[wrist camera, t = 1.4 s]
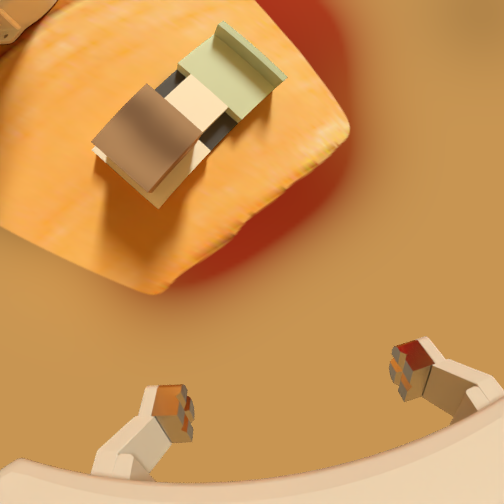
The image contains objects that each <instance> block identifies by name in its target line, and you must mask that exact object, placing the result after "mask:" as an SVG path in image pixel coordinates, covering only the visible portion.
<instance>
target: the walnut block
mask: <svg viewBox="0 0 504 504" xmlns="http://www.w3.org/2000/svg"><path fill="white" fill-rule="evenodd" d="M202 133H203V132H202V131H201V130H200V129H199V128H197V127H196V126H195V125H194V124H193V123H192V122H191V121H190V120H188V119H187V118H186V117H185V116H184V115H183V114H182V113H181V112H179V111H178V110H177V109H176V108H175V107H174V106H173V105H171V104H170V103H169V102H168V101H167V100H166V99H164V98H163V97H162V96H161V95H160V94H159V93H157V92H156V91H155V90H154V89H153V88H152V87H150V86H149V85H148V84H146V85H145V86H144V87H143V88H141V89H140V90H139V91H138V92H137V93H136V94H135V95H134V96H133V97H132V98H131V99H130V100H129V101H128V102H127V103H126V104H125V105H124V106H123V107H122V108H121V109H120V110H119V111H118V113H117V114H116V115H115V116H114V117H113V118H112V119H111V120H110V121H109V122H108V123H107V124H106V126H105V127H104V128H103V129H102V130H101V131H100V132H99V133H98V135H97V136H96V137H95V138H94V139H93V140H92V141H91V142H92V143H93V144H94V145H95V146H96V147H97V148H99V149H100V150H101V151H102V152H103V153H104V154H105V155H106V156H107V157H108V158H110V159H111V160H112V161H113V162H114V163H115V164H116V165H117V166H118V167H120V168H121V169H122V170H123V171H124V172H125V173H126V174H127V175H129V176H130V177H131V178H132V179H133V180H134V181H135V182H136V183H138V184H139V185H140V186H141V187H142V188H143V189H144V190H145V191H147V192H148V193H152V192H153V191H154V190H155V189H156V188H157V187H158V186H159V184H160V183H161V182H162V181H163V180H164V179H165V178H166V176H167V175H168V174H169V173H170V172H171V171H172V170H173V169H174V168H175V166H176V165H177V164H178V163H179V162H180V161H181V160H182V159H183V158H184V157H185V156H186V155H187V153H188V152H189V151H190V150H191V149H192V148H193V147H194V146H195V144H196V143H197V141H198V139H199V138H200V136H201V135H202Z"/></svg>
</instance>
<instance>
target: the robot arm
mask: <svg viewBox="0 0 504 504" xmlns="http://www.w3.org/2000/svg"><path fill="white" fill-rule="evenodd" d="M56 1H57V0H0V44H10V43H12V42H14V41H15V40H16V39H17V38H18V37H19V36H20V34H21V33H22V32H23V31H24V30H25V29H26V28H27V27H28V26H30V25H31V24H33V23H34V22H36V21H37V20H38V19H40V18H41V17H42V16H43V15H44V14H45V13H46V12H47V11H48V10H49V9H50V8H51V7H52V6H53V5H54V4H55V2H56ZM392 355H393V357H394V358H393V359H392V360H391V361H390V366H389V370H390V376H391V379H392V380H393V383H395V384H396V385H398V386H399V389H398V392H399V394H400V395H401V397H402V399H403V401H404V402H406V401H409V400H413V399H415V398H418V397H421V396H422V397H423V398H424V399H426V400H428V401H429V402H431V403H432V404H434V405H436V406H437V407H439V408H440V409H442V410H444V411H445V412H447V413H449V414H450V415H452V416H453V419H452V421H451V423H450V425H449V426H447V427H445V428H443V429H441V430H439V431H437V432H434V433H432V434H429V435H427V436H425V437H422V438H420V439H417V440H415V441H412V442H409V443H407V444H404V445H401V446H399V447H396V448H393V449H390V450H387V451H385V452H382V453H378V454H375V455H372V456H369V457H365V458H362V459H359V460H355V461H351V462H347V463H343V464H340V465H336V466H331V467H327V468H322V469H319V470H313V471H308V472H303V473H298V474H292V475H285V476H279V477H272V478H264V479H255V480H245V481H232V482H213V483H168V482H156V481H155V480H154V479H153V478H152V477H151V476H150V475H149V473H150V472H151V470H152V469H153V468H154V466H155V465H156V464H157V463H158V461H159V460H160V459H161V457H162V456H163V455H164V454H165V452H166V451H167V450H168V448H169V447H170V446H171V443H182V442H192V438H193V427H192V425H191V423H192V421H193V420H194V406H193V402H192V400H191V398H190V397H189V396H187V388H186V386H185V385H183V384H180V385H158V386H147V387H146V389H145V391H144V395H143V399H142V403H141V406H140V410H139V414H138V416H136V417H134V418H132V419H131V420H130V421H129V422H128V423H127V424H126V425H125V426H124V427H123V428H122V429H121V430H119V431H118V432H117V433H116V434H115V435H114V436H113V437H112V438H110V439H109V441H107V442H106V443H105V444H104V445H103V446H102V447H100V448H99V449H98V451H97V454H96V457H95V460H94V464H93V467H92V471H91V474H86V473H81V472H75V471H71V470H66V469H62V468H58V467H53V466H49V465H46V464H42V463H39V462H35V461H32V460H29V459H25V458H19V459H16V460H14V461H13V462H11V463H10V464H8V465H7V466H5V467H4V468H2V469H1V470H0V504H504V390H503V389H502V388H501V386H500V385H499V384H498V383H497V381H496V380H495V379H494V378H493V376H491V375H488V374H486V373H483V372H481V371H478V370H476V369H473V368H471V367H468V366H465V365H463V364H460V363H458V362H455V361H453V360H450V359H447V360H446V359H445V358H444V357H443V355H442V354H441V353H440V352H439V350H438V349H437V348H436V347H435V345H434V344H433V343H432V342H431V340H430V339H429V338H428V337H426V336H425V337H422V338H419V339H416V340H413V341H410V342H407V343H403V344H400V345H397V346H394V347H393V349H392Z"/></svg>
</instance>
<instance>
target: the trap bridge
mask: <svg viewBox="0 0 504 504" xmlns="http://www.w3.org/2000/svg"><path fill="white" fill-rule="evenodd" d="M286 78H288V77H287V76H286V75H285V74H284V73H283V72H282V71H281V70H280V69H279V68H278V67H276V66H275V65H274V64H273V63H272V62H271V61H270V60H269V59H268V58H267V57H266V56H265V55H263V54H262V53H261V52H260V51H259V50H258V49H257V48H256V47H254V46H253V45H252V44H251V43H250V42H249V41H247V40H246V39H245V38H244V37H243V36H242V35H240V34H239V33H238V32H237V31H236V30H234V29H233V28H232V27H231V26H229V25H228V24H227V23H226V22H224V21H222V22H221V23H219V24H218V26H217V28H216V31H215V34H214V35H213V36H211V37H210V38H209V39H207V40H206V41H205V42H203V43H202V44H201V45H199V46H198V47H197V48H196V49H194V50H193V51H192V52H191V53H189V54H188V55H187V56H186V57H185V58H183V59H182V60H181V61H180V62H179V63H178V66H177V70H176V71H175V72H174V73H173V74H172V75H170V76H169V77H168V78H167V79H166V80H165V81H164V82H163V83H162V84H160V85H159V86H158V87H157V88H156V89H155V91H156V92H157V93H159V94H160V95H161V96H162V97H163V98H164V99H166V100H167V101H168V102H169V103H170V104H171V105H173V106H174V107H175V108H176V109H177V110H178V111H179V112H181V113H182V114H183V115H184V116H185V117H186V118H187V119H188V120H190V121H191V122H192V123H193V124H194V125H195V126H196V127H197V128H199V129H200V130H201V131H202V132H203V133H202V135H201V136H200V138H199V139H198V141H197V143H196V144H195V146H194V147H193V148H192V149H191V150H190V151H189V152H188V153H187V155H186V156H185V157H184V158H183V159H182V160H181V161H180V162H179V163H178V164H177V165H176V166H175V168H174V169H173V170H172V171H171V172H170V173H169V174H168V175H167V176H166V178H165V179H164V180H163V181H162V182H161V183H160V184H159V186H158V187H157V188H156V189H155V190H154V191H153V192H152V193H148V192H147V191H145V190H144V189H143V188H142V187H141V186H140V185H139V184H138V183H136V182H135V181H134V180H133V179H132V178H131V177H130V176H129V175H127V174H126V173H125V172H124V171H123V170H122V169H121V168H120V167H118V166H117V165H116V164H115V163H114V162H113V161H112V160H111V159H110V158H108V157H107V156H106V155H105V154H104V153H103V152H102V151H101V150H100V149H99V148H97V147H96V146H95V147H94V148H93V149H92V151H93V152H95V153H96V154H97V155H98V156H99V157H100V158H101V159H102V160H103V161H104V162H106V163H107V164H108V165H109V166H110V167H111V168H112V169H113V170H114V171H116V172H117V173H118V174H119V175H120V176H121V177H122V178H123V179H125V180H126V181H127V182H128V183H129V184H130V185H131V186H132V187H134V188H135V189H136V190H137V191H138V192H139V193H140V194H141V195H143V196H144V197H145V198H146V199H147V200H148V201H149V202H151V203H152V204H153V205H154V206H155V207H156V208H157V209H159V208H160V207H161V206H162V205H163V203H164V202H165V201H166V200H167V199H168V198H169V196H170V195H171V194H172V193H173V192H174V191H175V190H176V188H177V187H178V186H179V185H180V184H181V183H182V182H183V181H184V179H185V178H186V177H187V176H188V175H189V174H190V173H191V172H192V171H193V170H194V168H195V167H196V166H197V165H198V164H199V163H200V162H201V161H202V160H203V159H204V158H205V157H206V156H207V155H208V153H209V152H210V151H211V150H212V149H213V148H214V147H215V146H216V145H217V144H218V143H219V142H220V141H221V140H222V139H223V138H224V137H225V136H226V135H227V134H228V133H229V132H230V131H231V130H232V129H233V128H234V127H235V126H236V125H237V124H238V123H239V122H240V121H241V120H242V119H243V118H244V117H245V116H246V115H247V114H248V113H249V112H250V111H251V110H252V109H253V108H254V107H256V106H257V105H258V104H259V103H260V102H261V101H262V100H263V99H264V98H265V97H266V96H267V95H268V94H269V93H271V92H272V91H273V90H274V89H275V88H276V87H277V86H278V85H280V84H281V83H282V82H283V81H284V80H285V79H286Z"/></svg>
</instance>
